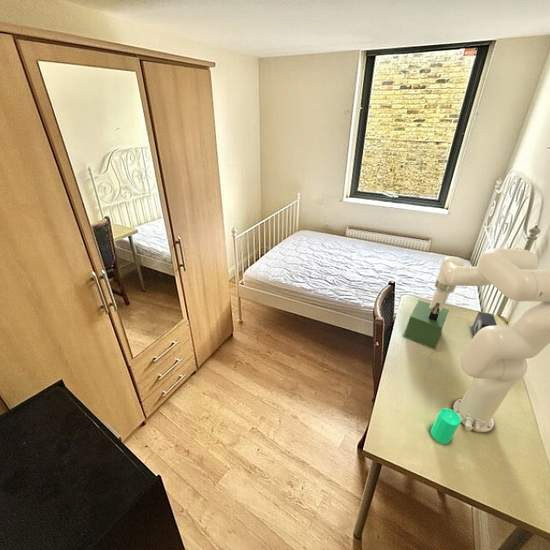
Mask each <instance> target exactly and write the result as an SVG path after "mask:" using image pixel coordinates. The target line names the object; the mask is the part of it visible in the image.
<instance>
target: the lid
mask: <svg viewBox="0 0 550 550" xmlns="http://www.w3.org/2000/svg"><path fill="white" fill-rule="evenodd" d="M430 303H431V302H430ZM430 303H429V302H426V301H424V300H421V299H418V300H417V302H416V305H415V306H414V308H413V310H412V312H411V314H410V316H409V319H410V318H413V319H416V320H418V321H421V322H424V323H426V324H429V325H432V326H435V327H437V328H440V329H442V330H443V328H444V326H445V322H446V319H447V317H448V314H449V309H448V308H446V307H445V308H444V307H443V308H442V310H441V311H440V312H439V315H438V318H437V320H436V321H434V320H432V319H429V316H430V313H431V310H432V309H433V308H432V309H431V308H429V306H430Z"/></svg>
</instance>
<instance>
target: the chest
mask: <svg viewBox="0 0 550 550" xmlns="http://www.w3.org/2000/svg"><path fill="white" fill-rule="evenodd" d="M408 319H409V320H408V322H407V326H406V328H405V332H404V335H403V337H404V338H406V339H409V340H411V341H413V342H416V343H419V344H421V345H423V346H426V347H429V348H431V349H433V350H434V349H435V348H436V346H437V344H438V341H439V338H440V335H441V333H442V330H443V328H442V329H440V328H437V327H435V326H432V325H429V324H426V323H424V322H421V321H418V320H416V319H413V318H410V317H409V318H408Z"/></svg>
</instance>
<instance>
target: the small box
mask: <svg viewBox="0 0 550 550" xmlns="http://www.w3.org/2000/svg"><path fill="white" fill-rule="evenodd" d="M493 325H497V321H496V319H495V316H494V314H493V313H488V312H483V311H478V313H477V314H476V317H475V320H474V321H473V325H472V326H471V330H472V335H473V337H474V336H475V335H476V333H477V332H478V331H479V330H480V329H482V328H484V327H487V326H493Z"/></svg>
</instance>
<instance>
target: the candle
mask: <svg viewBox="0 0 550 550" xmlns="http://www.w3.org/2000/svg"><path fill="white" fill-rule="evenodd" d="M461 423H462V422H461V420H460V417H459V415H458V414H457V413H456V412H455V411H454V410H453V409H450V408H445V407H443V408H441V409H440V410H439V413H438V414H437V416H436V418H435V421H434V422H433V425H432V426H431V428H430V434H431V436H432V438H433V439H434V440H435V441H436V442H437V443H440V444H443V445H447V444H449V443H450V442H451V440H452V439H453V437H454V435H455V433H456V432H457V429H458V428H459V426H460V424H461Z"/></svg>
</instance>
